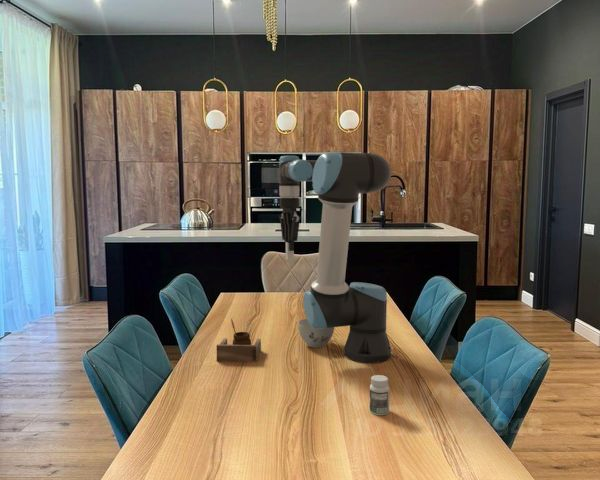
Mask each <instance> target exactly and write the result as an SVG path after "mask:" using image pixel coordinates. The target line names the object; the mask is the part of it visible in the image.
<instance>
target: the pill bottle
mask: <svg viewBox="0 0 600 480" xmlns="http://www.w3.org/2000/svg"><path fill="white" fill-rule="evenodd" d="M370 383H371V384H370V385H369V411H370V413H371V414H373V415H376V416H384V415H388V414H389V412H390V386H389V385H388V384H389V378H388V376H385V375H383V374H382V375H381V374H376V375H372V376H371V377H370Z"/></svg>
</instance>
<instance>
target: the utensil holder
mask: <svg viewBox="0 0 600 480" xmlns="http://www.w3.org/2000/svg"><path fill="white" fill-rule="evenodd" d="M230 321H231V322H230V323H231V326H232V329H233V331H234V333H233V339H232V345H252V341H251V339H250V338H251V336H250V335H251V334H250V331H251V330H248V326H249V329H251V328H252V327H251V324H250V322H249V321H246V322H244V324H243V326H242V327H243V329H245V328H246V329H245V331H239V332H238V331H236V328H235V324H234V321H233V318H231V319H230ZM248 324H249V325H248ZM245 325H246V327H245ZM247 330H248V332H247Z"/></svg>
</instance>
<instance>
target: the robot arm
mask: <svg viewBox="0 0 600 480" xmlns="http://www.w3.org/2000/svg"><path fill="white" fill-rule="evenodd" d="M278 168H279V169H278V170H279V176H278V177H279V186H278V187H279V191H278V192H279V207H280V209H281V208H282V212H281V214H279V215H278V219H279V222H280V229H281V232H280V233H281V239H282V240H283V241H284V242H285V260H294V259H295V251H294V250H295V246H294V245H295V243H296V242H297V241H298V237H299V230H300V229H299V228H300V222H301V219H302V217H301V216H300V215H298V211H297V208H299V207H300V198H299V197H300V182H312V189H313V192H314V193H316V194H317V195H318V197H317V199H318V200H319V201H320V202H321V203H322V209H321V222H320V223H321V224H320V231H319V232H320V233H319V234H320V236H319V246H318V259H317V271H316V279H314V280H313V281H312V282H311V285H310V290H306V291H305V292H304V294H303V298H302V303H303V311H304V315H305V317H306V318H305V319H307V320H308V322H309V324H310V325H311V326H312V327H313V328H324V329H327V328H332V327H334V328H340V327H349V332H348V335H347V339H346V341H345V345H344V347H343V356H344V357H345V358H346V359H349V360H352V361H354V362H358V363H359V362H360V363H369V364H370V363H372V364H373V363H381V362H386V361H388V360H390V359H391V357H392V347H391V345H390V344H391V343H390V341H389V337H388V334H387V305H388V296H387V290H386V289H385V288H384V287H383V286H381V285H377V284H373V283H368V282H359V281H358V282H357V281H353V282H350V284H349V285H348V283H346V281H345V280H346V270H347V263H348V260H347V259H348V251H349V243H350V242H349V241H350V233H351V222H352V211H353V206H355V205H356V204H357V203H358V201H359V195H360V194H372V193H376V192H379V191H382V189H384V188H385V187H386V186H387V185H388V184H389V183H390V181H391V177H392V168H391V165H390V163H389V161H388V160H386V158H385V157H383V156H381V155H379V154H377V153H372V152H346V151H345V152H344V151H343V152H340V151H334V152H325V153H323V154H320V156H319V157H318V158H317V160H313V159H312V160H309V159H300V157H299V156H297V155H282V156H280V157H279V163H278Z"/></svg>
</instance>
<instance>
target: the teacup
mask: <svg viewBox="0 0 600 480" xmlns="http://www.w3.org/2000/svg"><path fill="white" fill-rule="evenodd" d="M297 326H298V331H299V334H300V337H301V340H303V341H304V342H305V343H306V345H307V347H308V348H309V347H310V348H314V349H315V348H323V347H325V346H326V345H327V343H328V342H329V341H330V340H331V339H332V336H333V334H334V331H335V327H332V328H327V329H324V328H313V327H312V326H311V325H310V324H309V322H308V320H307V318H304V319H301V320H299V321H298V322H297Z"/></svg>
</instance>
